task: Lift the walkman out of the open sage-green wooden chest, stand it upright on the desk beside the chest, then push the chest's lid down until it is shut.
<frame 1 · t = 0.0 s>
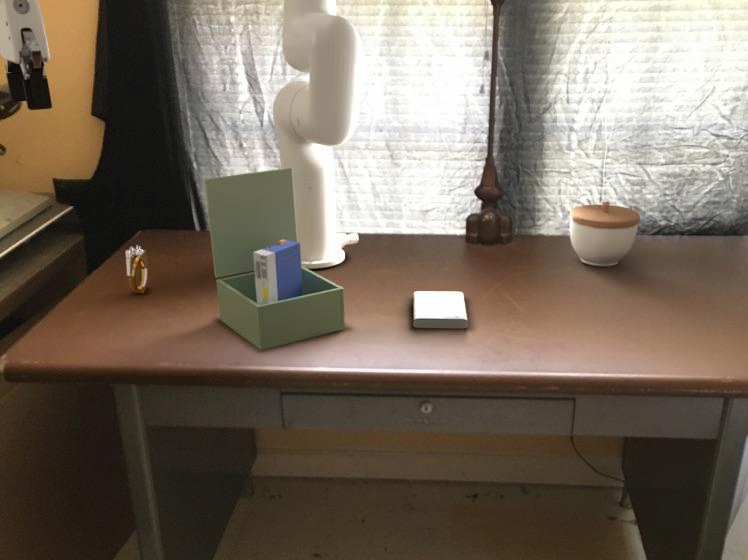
hand: (31, 104, 123), 31 cm above the table, tool pointing down, fingers open, 9 cm apart
chest lid: (253, 222, 129), point 14 cm above the table, hinge at 92.0°
lidded bowl: (599, 261, 160), on the table
walkman: (281, 322, 130), resting on chest
hard drive: (439, 314, 135), on the table
ring: (141, 293, 143), on the table
chest: (281, 324, 131), on the table
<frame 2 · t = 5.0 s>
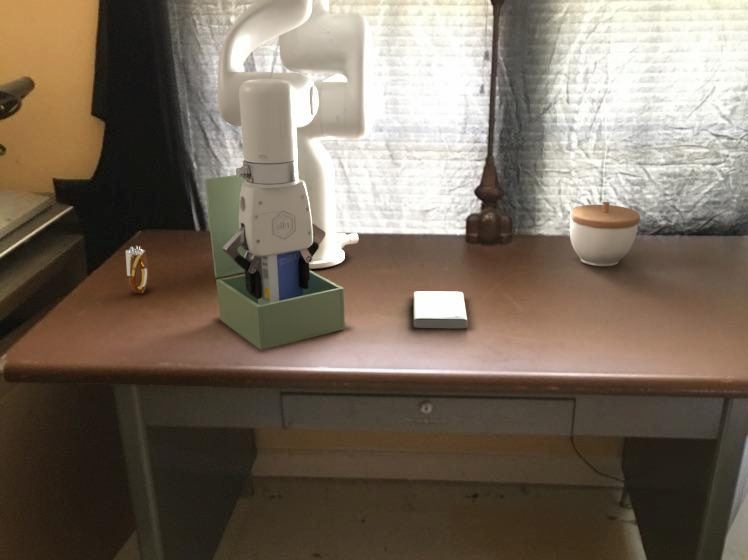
hand: (278, 290, 128), 6 cm above the table, tool pointing down, fingers closed on walkman, 7 cm apart
walkman: (282, 322, 130), resting on chest, touching gripper
everything else where it was.
when the fingers open (5 cm above the table, at t = 12.6 s): walkman stays where it is, on the table.
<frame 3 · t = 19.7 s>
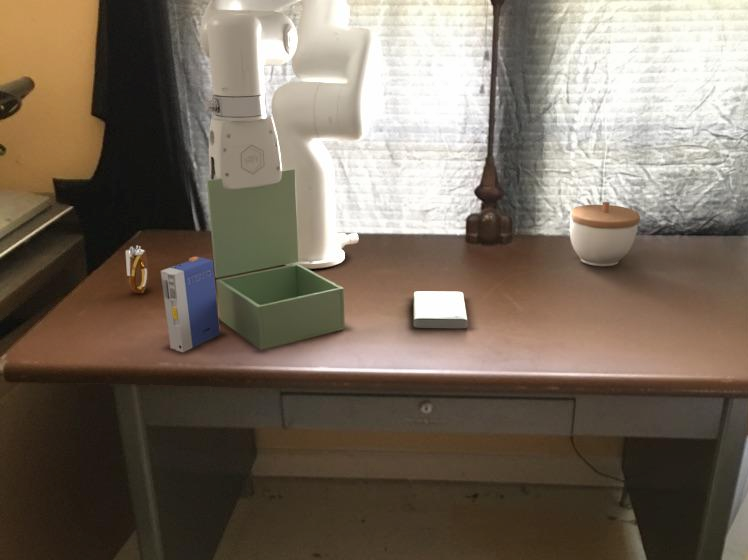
hand: (249, 230, 131), 13 cm above the table, tool pointing down, fingers closed
chest lid: (254, 223, 129), point 14 cm above the table, hinge at 88.6°, touching gripper
walkman: (195, 342, 125), on the table
everything else where it was.
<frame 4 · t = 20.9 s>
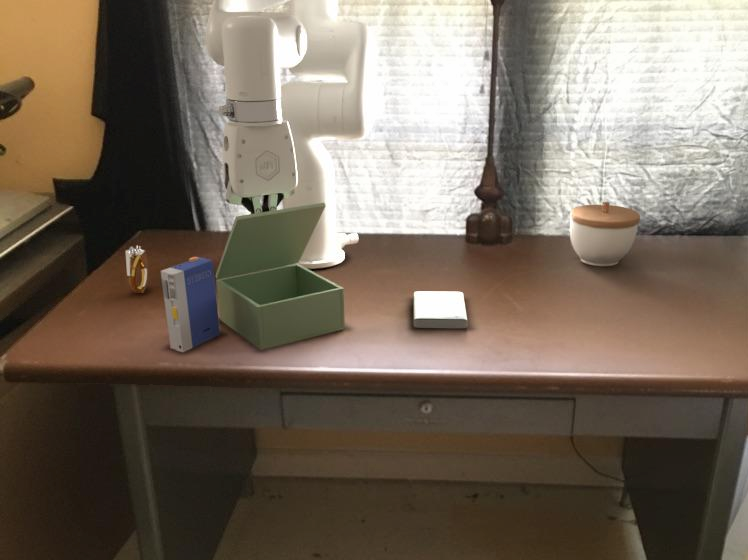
hand: (263, 238, 128), 13 cm above the table, tool pointing down, fingers closed
chest lid: (269, 241, 127), point 13 cm above the table, hinge at 49.8°, touching gripper
everything else where it was.
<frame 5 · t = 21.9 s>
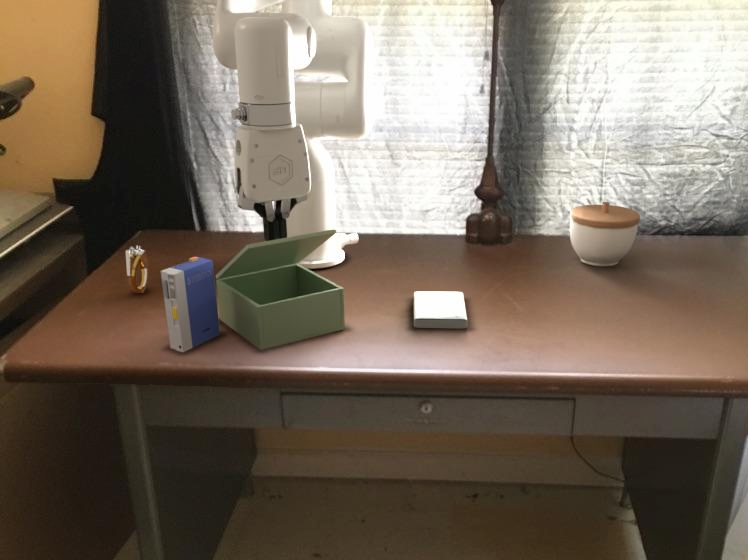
hand: (276, 244, 125), 13 cm above the table, tool pointing down, fingers closed
chest lid: (274, 254, 126), point 11 cm above the table, hinge at 32.6°
everything else where it was.
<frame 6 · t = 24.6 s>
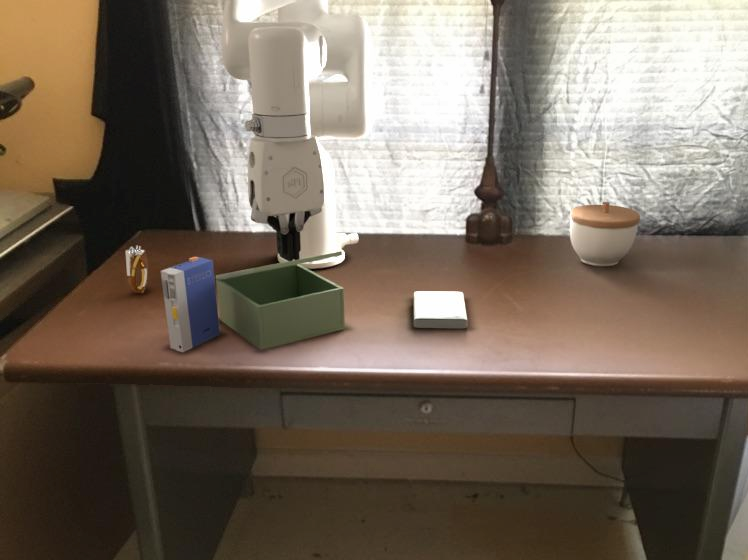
hand: (289, 257, 122), 12 cm above the table, tool pointing down, fingers closed
chest lid: (277, 265, 126), point 9 cm above the table, hinge at 19.6°
everything else where it was.
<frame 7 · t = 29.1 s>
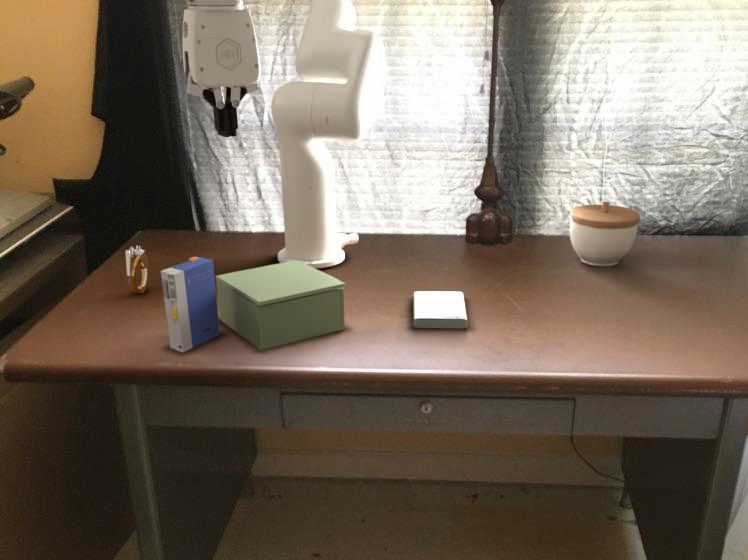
hand: (227, 135, 124), 27 cm above the table, tool pointing down, fingers closed
chest lid: (279, 281, 127), point 7 cm above the table, hinge at 1.2°
everything else where it was.
at the end: walkman inside the target area (0.4 cm from its centre), on the table; walkman tilted 0°; chest lid at +1° (first picture: +92°) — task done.
